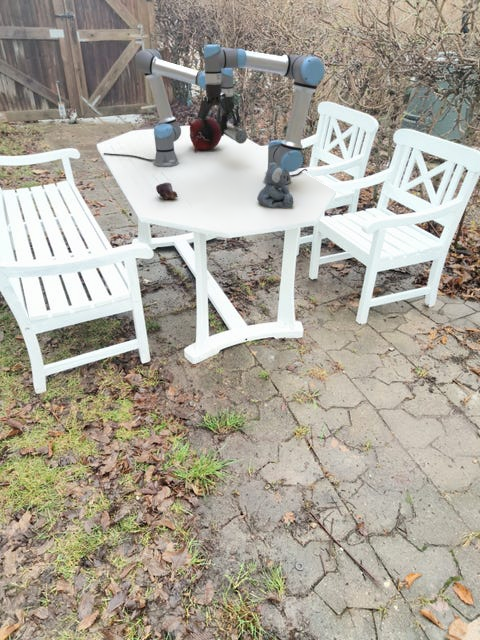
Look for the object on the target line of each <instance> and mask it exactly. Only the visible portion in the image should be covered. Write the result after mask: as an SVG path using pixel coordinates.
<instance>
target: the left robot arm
mask: <svg viewBox="0 0 480 640" xmlns="http://www.w3.org/2000/svg"><path fill="white" fill-rule="evenodd" d="M162 58H163V57H162V54H160V52H159V51H158V50H157V49H155V48H147V49H141V50H139V51H138V52H137V53H136V55H135V57H134V63H135V66H136V68H137V69H138V70H139V71H140V72H142V73H143V75H144V77H145V78H146V79H147V80H148V83H149V86H150V90H151V93H152V94H151V95H152V97H153V100H154V103H155V107H156V110H157V114H158V118H159V121H158V124H156V125H155V126H154V128H153V135H154V145H155V155H154V158H153V159H151V158H146V157H143V156H142V157H141V156H139V155H133V154H123V153H109V152H103V155H106V156H107V155H108V156H122V157H130V158H131V157H132V158H138V159H140V160H145V161H148V162H149V161H150V162H154V165H155V166H157V167H163V168H164V167H165V168H167V167H168V168H169V167H174V166H177V165H178V164H179V159H178V157H177V153H176V151H175V142H176V141H178V140H179V138H180V137H181V135H182V128H181V126H180V124H179V123H178V122H177V118H176V117H175V116H174V115H173V111H172V108H171V105H170V101H169V97H168V94H167V90H166V87H165V84H164V79H163V77H166V78H170V79H174V80H177V81H181V82H183V83H188V84H191V85H194V86H198V87H200V89H204V90H206V86H205V85H206V84H207V83H206V82H205V70H202V71H200V70H197V69H193V68H190V67H186V66H182V65H179V64H177V63H176V64H175V63H172V62H169V61H166V60H163V59H162ZM220 84H221V86H222V92H221V93H225V94H226V100H227V102H228V105H229V108H230V111H231V113H230V115H231V118H232V120H233V123H232V124H233V125H234V126H236V127H238V124H239V123H241V119H240V112H239V108H240V106H239V105H238V104H235V99H234V98H235V97H234V68H221V83H220ZM222 104H223V103H222ZM216 110H217V113H216V123H217V124H219V126H220V130H221V135H222V137H224V136H225V134H224V131H223V129H222V115H224V114H223V113H222V111H221V110H220V108H219V107H218V106H216ZM234 110H235V111H234Z"/></svg>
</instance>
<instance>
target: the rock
mask: <svg viewBox="0 0 480 640" xmlns="http://www.w3.org/2000/svg"><path fill="white" fill-rule="evenodd" d="M155 186H156V187H155V190H156V193H157V194H158V195H159V196H160V198H162V199H163V200H168V199H173V200H174V199H177V198H178V193H177V192H176V191H174V190H173V185H172V183H171V182H163V183H160V184H157V185H155Z"/></svg>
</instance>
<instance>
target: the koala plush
mask: <svg viewBox="0 0 480 640" xmlns="http://www.w3.org/2000/svg"><path fill="white" fill-rule="evenodd" d="M267 169H268V168H267ZM266 172H267V171H266ZM288 179H289V178H288V176H286V174H285V172H284V171H283V169H282V168H281V167H280V166H277V165H276V163H271V164H270V165H269V169H268V172H267V176H266V183H265V186H264V187H263V188H262V189H261V190H260V191H259V192H258V195H257V197H256V200H257V202H258V203H259V204H260V205H264V207H267V208H282V209H284V208H286V209H287V208H291V207H294V197H293V194H292V193H290V190H289V188H288V186H287V185H285V183H286V182H287V181H288Z"/></svg>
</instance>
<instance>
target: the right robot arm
mask: <svg viewBox="0 0 480 640" xmlns="http://www.w3.org/2000/svg"><path fill="white" fill-rule="evenodd" d="M203 61H204V62H203V63H204V71H205V82H206V83H207V84H206V85H205V86H206V89H205V93H206V95H205V96H204V95H202V96H201V102H200V106H199V110H198V114H197V119H198V120H199V119H201V124H202V128H203V134H208V129H207V120H206V118H208V115H209V113H210V111H211V110H212V108H213V107H214V106H217V107H219V108H220V111H221V116H222V129H225V130H227V122H228V119H229V117H228V116H230V114H231V111H230V108H229V105H228V102H227V100H226V94H225V93H221V92H222V86H221V84H220V83H221V68H232V69H247V70H253V71H260V72H266V73H273V74H279V75H280V76H281V77H283V78H284V77H285V78H288V79H290V80H293V87H294V89H295V91H294V95H293V100H292V104H291V109H290V113H289V119H288V123H287V128H286V131H285V132H286V133H285V137H284V139H274V140H269V142H268V147H267V169H266V171H265V176H264V177H263V178H264V184H266V176H267V172H268V169H269V165H270V164H271V163H276V165H277V166H280V167H281V168H282V169H283V171H284V172H285V174H286V176H288V178H289V179H288V181H287V182H286V183H285V185H286V186H287V185H290V184H291V180H292V177H295V176H299V175H300V174H301V173H302V172H304V171H306V172H308V169H306V168H304V169H302V170H300V171H299V172H298V173H295V174H290V173H293V172H296V171H298V170H299V169H300V168H301V167H302V165H303V162H304V156H303V154H302V151H303V145H302V142H301V141H302V138H303V133H304V130H305V125H306V121H307V117H308V113H309V109H310V104H311V100H312V96H313V93H314V92H316V91H317V88H318V85H319V84H320V83H321V82H322V80H323V79H324V77H325V66H324V64H323V62H322V60H321V59H319V58H318V57H315V56H309V55H303V54H301V55H300V54H297V55H294V54H293V55H291V54H290V55H289V54H283V55H282V56H281V55H274V54H270V53H261V52H256V51H249V50H245V48H244V49H243V48H231V47H226V46H222V47H221V45H220V44H206V45H205V46H204V47H203ZM222 103H223V104H222ZM222 113H223V114H224V115H222ZM285 185H284V186H285Z"/></svg>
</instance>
